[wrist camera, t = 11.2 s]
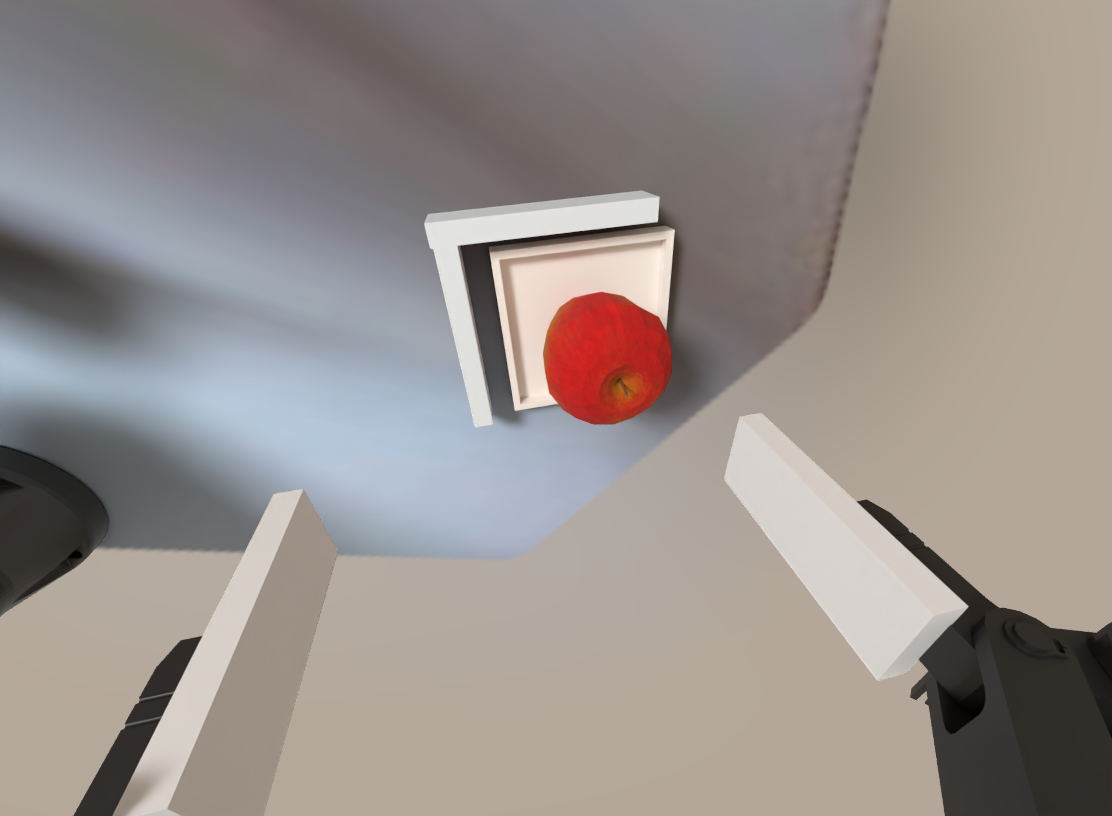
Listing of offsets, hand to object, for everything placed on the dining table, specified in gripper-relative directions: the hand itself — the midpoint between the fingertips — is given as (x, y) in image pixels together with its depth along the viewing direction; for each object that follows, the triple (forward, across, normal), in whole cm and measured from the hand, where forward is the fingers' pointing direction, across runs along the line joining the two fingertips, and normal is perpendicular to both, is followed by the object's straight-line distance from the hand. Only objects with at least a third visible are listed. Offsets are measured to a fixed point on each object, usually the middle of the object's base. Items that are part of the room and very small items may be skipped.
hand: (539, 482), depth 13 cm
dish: (+24, +7, -5) cm, 26 cm away
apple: (+24, +7, -5) cm, 25 cm away
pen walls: (+24, +4, -4) cm, 25 cm away
